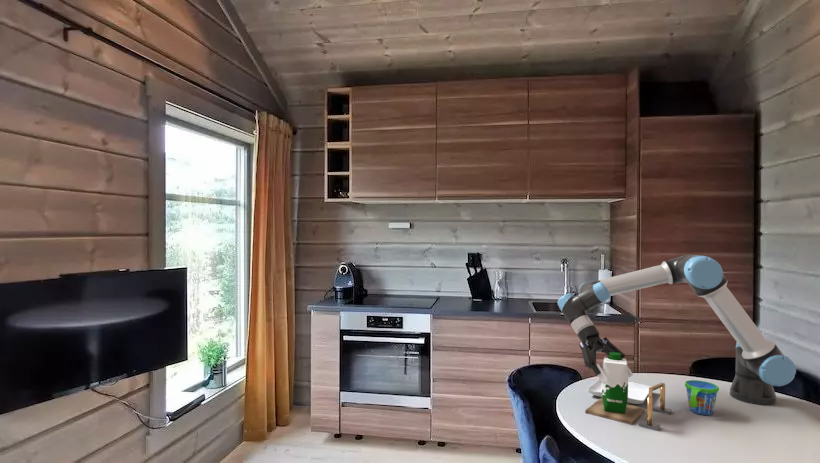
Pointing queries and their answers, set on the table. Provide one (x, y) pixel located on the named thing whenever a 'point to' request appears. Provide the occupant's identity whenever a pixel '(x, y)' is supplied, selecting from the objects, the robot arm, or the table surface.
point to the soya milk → (615, 383)
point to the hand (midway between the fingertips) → (618, 379)
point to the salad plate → (635, 391)
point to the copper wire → (655, 407)
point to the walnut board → (628, 417)
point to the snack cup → (701, 396)
